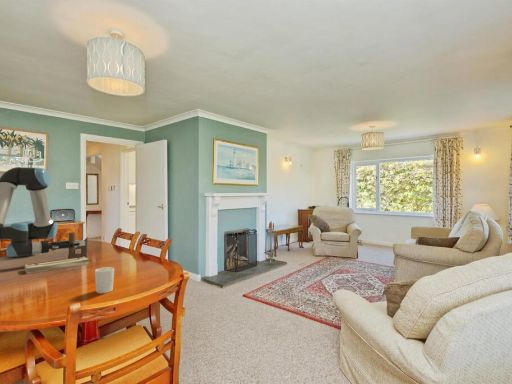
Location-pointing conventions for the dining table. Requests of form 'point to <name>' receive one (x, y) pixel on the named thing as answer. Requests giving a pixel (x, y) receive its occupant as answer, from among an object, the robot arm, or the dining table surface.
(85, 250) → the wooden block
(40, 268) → the maple board
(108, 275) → the white cup
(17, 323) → the dining table surface
